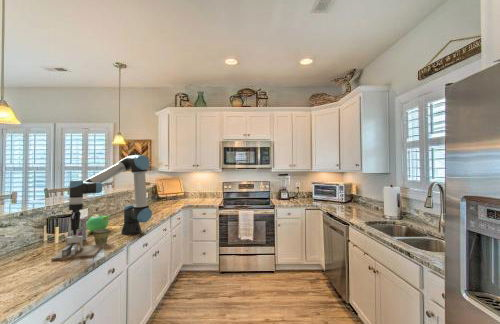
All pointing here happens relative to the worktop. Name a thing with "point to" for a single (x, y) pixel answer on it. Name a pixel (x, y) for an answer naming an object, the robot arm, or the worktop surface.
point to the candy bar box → (81, 225)
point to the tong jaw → (74, 249)
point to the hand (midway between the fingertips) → (75, 239)
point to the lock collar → (74, 240)
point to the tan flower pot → (101, 236)
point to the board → (81, 253)
